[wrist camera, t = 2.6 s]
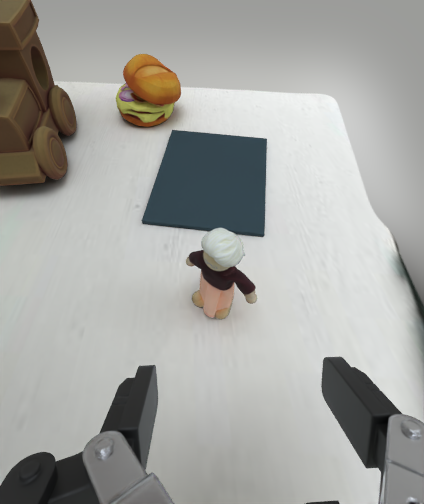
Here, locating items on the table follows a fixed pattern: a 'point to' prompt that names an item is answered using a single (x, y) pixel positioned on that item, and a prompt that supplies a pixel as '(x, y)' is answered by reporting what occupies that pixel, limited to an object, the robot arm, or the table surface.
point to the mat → (210, 184)
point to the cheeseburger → (147, 91)
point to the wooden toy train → (29, 102)
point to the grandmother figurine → (220, 273)
